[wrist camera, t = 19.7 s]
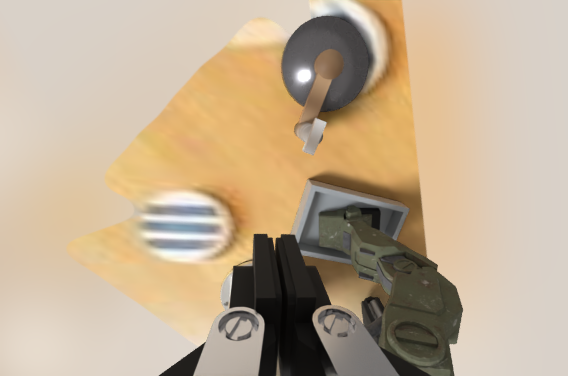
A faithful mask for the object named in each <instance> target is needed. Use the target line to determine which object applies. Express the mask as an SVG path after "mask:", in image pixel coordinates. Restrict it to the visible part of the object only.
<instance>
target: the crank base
mask: <svg viewBox="0 0 568 376" xmlns="http://www.w3.org/2000/svg"><path fill="white" fill-rule="evenodd" d="M328 49H334V50H336V51H338V52H339V53H340V54H341V55H342V57H343V60H344V67H343V70H342V72H341V74H340V75H339V76H338V77H336V78H334V79H332V81H331V84H330V86H329V89H328V91H327V94H326V96H325V99H324V101H323V104H322V107H321V109H320V112H329V111H334V110H337V109H340V108H342V107H344V106H345V105H347V104H348V103H350V102H351V101H352V100H353V99H354V98H355V97H356V96H357V95H358V93H359V92H360V90H361V89H362V87H363V85H364V83H365V80H366V77H367V73H368V63H369V60H368V52H367V48H366V45H365V42H364V40H363V38H362V36H361V35H360V33H359V32H358V31H357V30H356V28H355V27H353V26H352V25H351V24H350V23H348V22H347V21H345V20H343V19H341V18H337V17H332V16H321V17H316V18H313V19H311V20H309V21H307V22H305V23H304V24H302V25H301V26H300V27H299V28H298V29H297V30H296V31H295V32H294V33H293V34H292V36H291V37H290V39H289V40H288V42H287V44H286V46H285V49H284V52H283V55H282V61H281V73H282V78H283V82H284V85H285V87H286V89H287V91H288V93H289V94H290V95H291V97H292V98H293V99H294V100H295V101H296V102H297V103H299V104H300V105H301V106H303V107H304V106H305V103H306V100H307V98H308V95H309V93H310V90H311V87H312V85H313V82H314V79H315V77H316V73H315V71H314V62H315V59H316V57H317V56H318V55H319V54H320V53H322V52H323V51H325V50H328Z"/></svg>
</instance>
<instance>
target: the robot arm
mask: <svg viewBox="0 0 568 376" xmlns="http://www.w3.org/2000/svg"><path fill="white" fill-rule="evenodd" d="M220 298H221V303H222V305H223V307H224V309H225V311H223V312H222V313H220V314H219V315H218V316H217V317H216V319H215V320H214V322H213V324H212V327H211V330H210V332H209V335H208V338H207V340H206V342H205V343H204V344H202V345H201V346H199V347H198V348H197V349H195V350H194V351H192V352H191V353H190V354H188V355H187V356H186V357H184V358H183V359H181V360H180V361H178V362H177V363H176V364H174V365H173V366H171V367H170V368H169V369H167V370H166V371H164V372H163V373H162V374H160V375H159V376H431V375H430V374H428V373H426V372H424V371H422V370H421V369H419V368H417V367H415V366H414V365H412V364H410V363H408V362H407V361H405V360H403V359H401V358H399V357H398V356H396V355H394V354H392V353H391V352H389V351H387V350H385V349H384V348H382V347H380V346H378V345H377V344H376V342H375V341H374V339H373V338H372V337H371V335H370V334H369V332H368V331H367V329H366V328H365V327H364V325H363V324H362V322H361V321H360V320H359V318H358V317H357V316H356V315H355V314H354V313H353V312H351V311H350V310H348V309H346V308H343V307H341V306H335V305H331V302H330V300H329V297H328V295H327V292H326V290H325V287H324V285H323V283H322V280H321V278H320V275H319V273H318V270H317V268H316V266H305V263H304V260H303V257H302V254H301V251H300V248H299V245H298V242H297V239H296V237H295V235H293V234H281V238H276V244H275V250H274V244H273V238H268V236H267V234H254V240H253V261H249V262H245V263H242V264H240V265H238V266H233V269H232V270H231V271H230V272H229V273H228V274H227V276H226V277H225V279H224V281H223V283H222V286H221V295H220Z"/></svg>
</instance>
